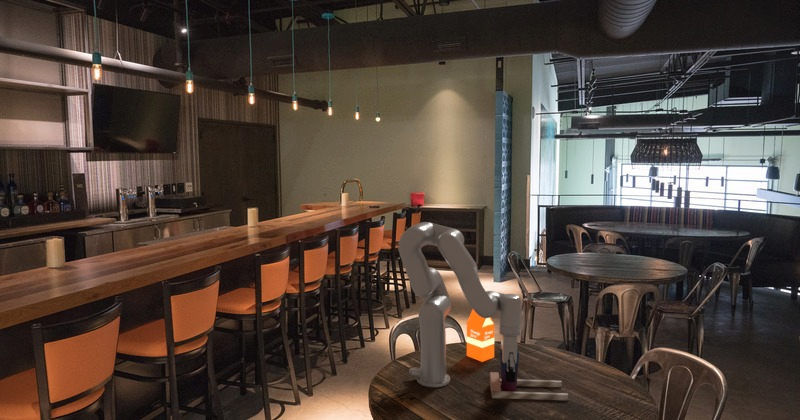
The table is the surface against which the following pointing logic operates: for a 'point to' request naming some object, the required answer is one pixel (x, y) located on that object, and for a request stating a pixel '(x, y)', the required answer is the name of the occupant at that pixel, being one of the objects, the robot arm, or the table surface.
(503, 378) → the cup
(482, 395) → the table surface
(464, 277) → the robot arm
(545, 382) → the track
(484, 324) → the orange juice
